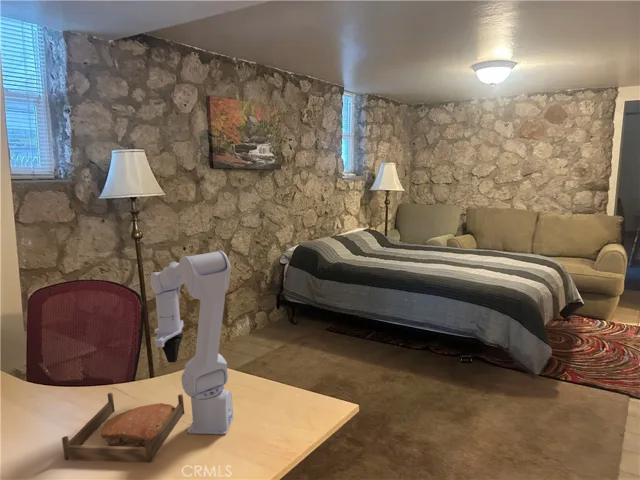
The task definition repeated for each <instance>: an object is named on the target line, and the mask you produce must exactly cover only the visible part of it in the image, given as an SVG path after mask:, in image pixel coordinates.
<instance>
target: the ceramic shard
mask: <svg viewBox="0 0 640 480" xmlns="http://www.w3.org/2000/svg"><path fill="white" fill-rule="evenodd" d="M175 408H176V406H174V405H172V404H168V403H162V402H161V403H154V404H153V403H151V404H148V405H141V406H138V407H137V406H136V407H135V408H132V409H128V410H126V411H124V412H122V413H119V414H116V415H115V416H113V417H111V418H109V419H107V420H106V421H105V423H103V426H102V427H101V430H100V433H99V434H100V436H101V438H102V439H103V440H105V442H106V443H107V446H118V447H119V446H126V445H131V446H132V447H145V440H146V439H151V442H152V440H153V439H154V438H155V436H156V435H157V433H158V432H159V431H160V429H161V428H162V426H163V425H164V424H165V422H166V421H167V419H168V418H169V417H170V415H171V414H172V412H173V411H174V410H175Z"/></svg>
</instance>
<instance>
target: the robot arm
mask: <svg viewBox="0 0 640 480" xmlns="http://www.w3.org/2000/svg"><path fill="white" fill-rule="evenodd" d="M231 272H232V267H231V264H230V261H229V257H228V256H227V254H226V253H225V252H224V251H223V250H217V251H214V252H213V251H212V252H207V253H202V254H196V255H189V256H188V255H186V256H185V255H184V256H182V257H180V258H179V262H177V261H171V262H169V263H168V266H165V267H163V268H162V270H161V271H158V272H157V271H156V272H155V271H154V272H153V271H152V273H151V274H150V277H149V278H150V280H149V282H150V287H151V290H152V292H153V294H154V297H155V303H156V304H155V306H156V314H157V315H156V318H157V326H158V327H157V328H156V329H155V330H154V334H157V335H156V338H155V340H154V345H155V348H161V350H162V351H163V352H164V354H165V355H164V356H165V358H166V360H167V362H168V363H176V362H177V360H178V357H179V351H180V345H181V342H182V339H183V338H184V334H183V333H182V331H183V328H184V327H185V326H184V320H182V319H181V315H180V303H179V297H180V296H181V287H182V286H183V285H185V287H186V289H187V291H188V294H189V295H190V296H191V297H192V298H193V299H197V300H199V302H200V305H199V314H198V324H197V325H198V326H197V335H196V336H197V337H196V345H195V354H194V356H193V357H192V358H191V359H190V360H188V361H187V362H186V363H185V365H184V370H183V372H182V374H181V385H182V389H183V390H184V391H183V392H184V393H185V394H186V395H187V396H188V397H190V401H191V412H192V413H191V414H192V423H191V424H190V426H189V428H188V429H187V431H186V432H187V434H197V435H198V434H200V435H203V434H204V435H226V434H227V432H229V431H228V430H229V428H230V426H231V425H232V422H233V420H234V418H235V414H234V407H233V393H232V391H230V390H226V389H225V387H224V386H225V385H227V383H228V380H229V372H228V362H227V361H226V359H225V358H224V357H223V355H222V354H221V353H219V350H220V340H221V334H222V325H223V317H224V309H225V302H226V292H227V291H228V290H229V287H230V280H231Z"/></svg>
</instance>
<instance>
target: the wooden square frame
mask: <svg viewBox="0 0 640 480" xmlns="http://www.w3.org/2000/svg"><path fill="white" fill-rule="evenodd" d="M177 399H178V404H177V405H176V406H175V410H174V411H173V412H172V414H171V415H170V417H169V418H168V419H167V421H166V422H165V424H164V425H163V426H162V428H161V429H160V431H159V432H158V433H157V435H156V436H155V438H154V439H153V440H152V442H151V439H146V440H145V447H135V446H119V445H118V446H109V445H85V442H87V440H88V439H89V438H90V437H91V436H92V435H93V434H94V433H95V432H96V431H97V430H98V429H99V428H100V427H101V426H102V424H104V422H106V421H107V420H108V418H109V417H110V416H111V415H112V414H114V413H115V403H114V393H113V392H109V393H107V400H108V401H107V403H105V404H104V406H103V407H102V408H101V409H100V410H99V411H98V412H97V413H96V414H95V415H94V416H93V417H92V418H91V419H90V420H89V421H88V422H87V423H86V424H85V425H84V426H83V427H81V429H80V430H79V431H78V432H77V433H76V434H75V435H74V436H73V437H72V438H70V440H69V436H68V435H67V436H66V435H65V436H62V438H61V441H62V448H63V456H64V460H65V461H69V460H70V461H71V460H72V461H73V460H78V461H105V462H131V463H132V462H135V463H136V462H137V463H139V462H140V463H148V464H149V463H152V462H153V460H154V458H155V457H156V456H157V453H158V452H159V450H160V449H161V448H162V446H163V445H164V443H165V442H166V441H167V439H168V437H169V435H170V434H171V432H173V430H174V428H175V426H176V425H177V424H178V422H179V421H180V419H181V417H182V416H183V415H184V414H185V405H184V404H185V403H184V394H182V393H179V394H178V395H177Z"/></svg>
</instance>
